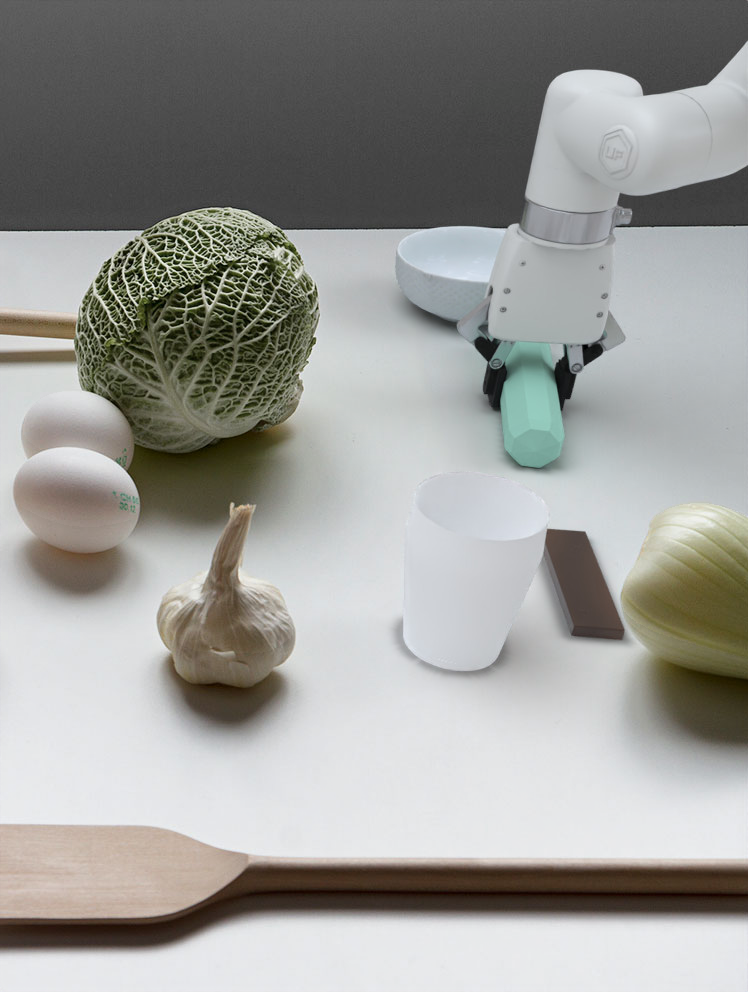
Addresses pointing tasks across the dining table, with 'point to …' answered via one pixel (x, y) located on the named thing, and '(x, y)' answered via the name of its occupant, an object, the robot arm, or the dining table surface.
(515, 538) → the cup
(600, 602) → the walnut strip
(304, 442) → the dining table surface
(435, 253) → the cereal bowl
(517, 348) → the container
